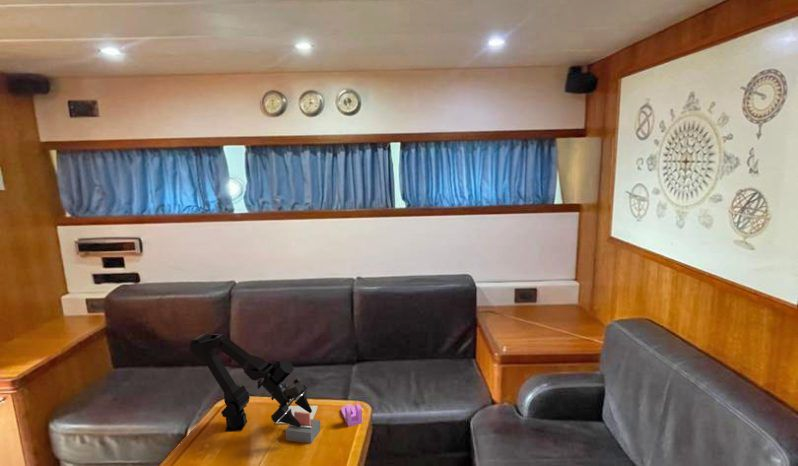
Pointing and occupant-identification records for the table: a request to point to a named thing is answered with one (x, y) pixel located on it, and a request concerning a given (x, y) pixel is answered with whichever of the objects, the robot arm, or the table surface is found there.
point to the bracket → (355, 416)
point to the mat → (299, 409)
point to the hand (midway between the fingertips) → (305, 419)
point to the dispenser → (303, 432)
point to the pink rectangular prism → (303, 418)
